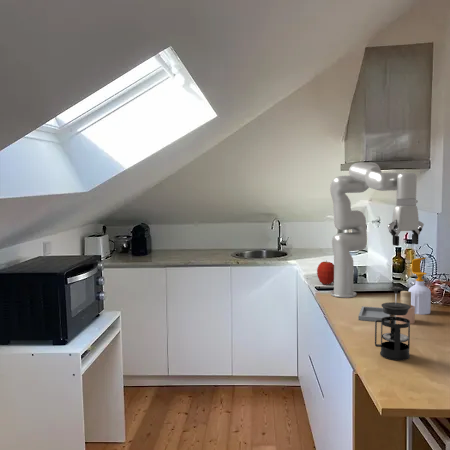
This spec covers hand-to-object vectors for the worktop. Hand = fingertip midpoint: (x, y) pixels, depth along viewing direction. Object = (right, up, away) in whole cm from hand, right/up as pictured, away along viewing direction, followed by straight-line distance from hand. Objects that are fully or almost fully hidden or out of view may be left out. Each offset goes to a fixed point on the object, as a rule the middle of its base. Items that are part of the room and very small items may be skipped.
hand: (405, 244), depth 200 cm
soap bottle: (+10, -30, +11) cm, 34 cm away
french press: (-18, -36, -38) cm, 55 cm away
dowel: (-1, -31, -3) cm, 31 cm away
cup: (-1, -32, -3) cm, 32 cm away
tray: (-11, -31, +5) cm, 33 cm away
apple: (-18, -25, +71) cm, 77 cm away
